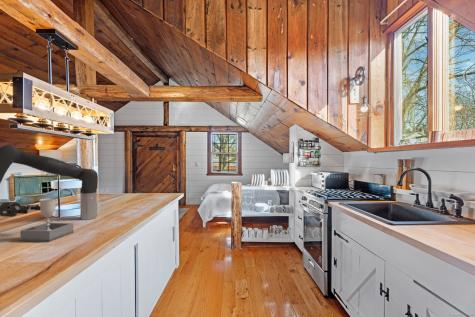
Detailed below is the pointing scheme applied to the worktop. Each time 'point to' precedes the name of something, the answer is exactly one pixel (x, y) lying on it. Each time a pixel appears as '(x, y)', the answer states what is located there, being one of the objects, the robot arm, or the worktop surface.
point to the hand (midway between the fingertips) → (34, 209)
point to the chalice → (47, 209)
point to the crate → (46, 232)
